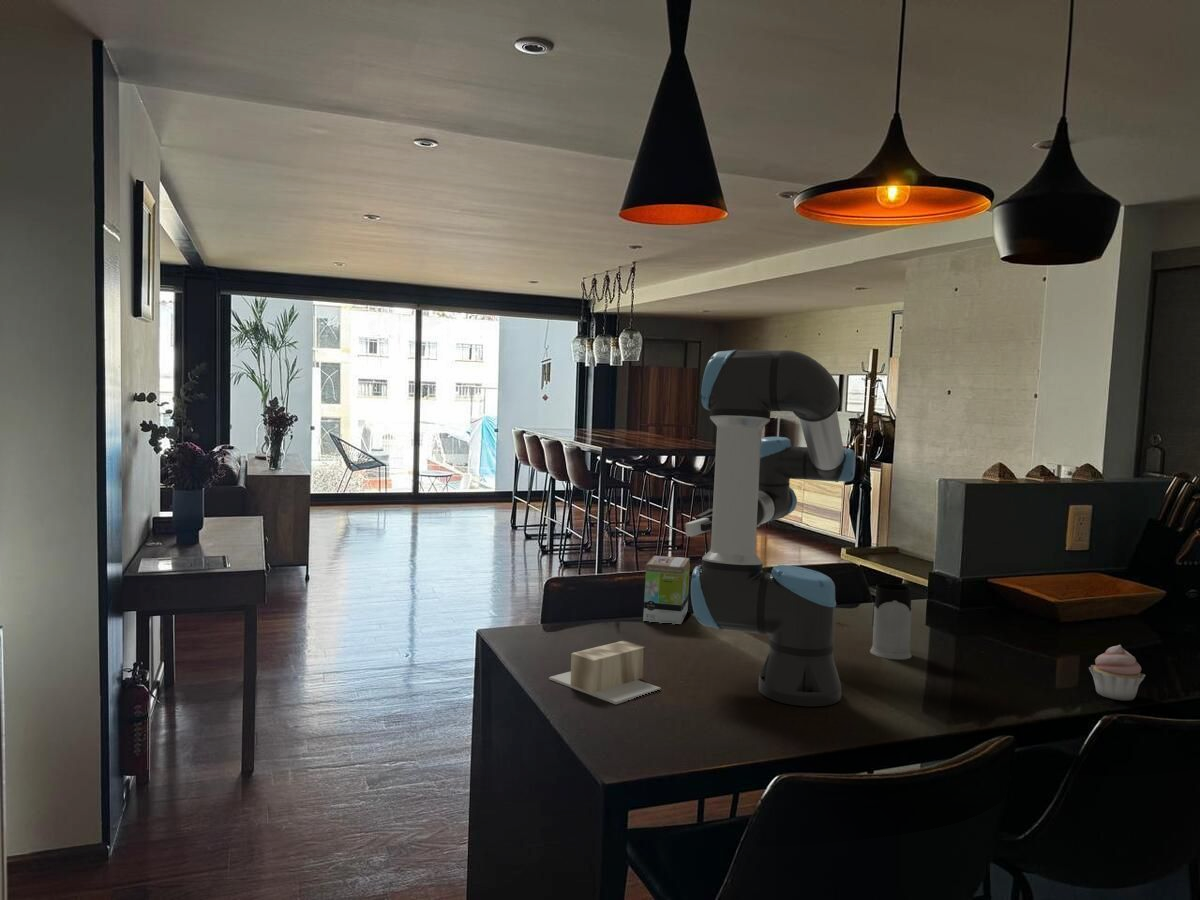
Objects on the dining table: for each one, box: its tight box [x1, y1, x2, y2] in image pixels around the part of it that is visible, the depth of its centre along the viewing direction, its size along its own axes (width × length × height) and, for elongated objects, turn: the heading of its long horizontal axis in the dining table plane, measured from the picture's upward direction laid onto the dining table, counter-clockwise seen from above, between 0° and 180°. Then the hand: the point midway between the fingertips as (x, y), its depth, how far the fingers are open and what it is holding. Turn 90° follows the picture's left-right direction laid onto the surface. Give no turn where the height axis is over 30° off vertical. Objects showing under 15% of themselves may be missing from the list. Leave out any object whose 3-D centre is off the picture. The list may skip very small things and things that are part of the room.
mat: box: [548, 670, 661, 705], centre depth 159 cm, size 18×12×1 cm, turn 44°
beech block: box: [570, 640, 646, 693], centre depth 160 cm, size 6×6×14 cm
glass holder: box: [869, 583, 913, 660], centre depth 189 cm, size 9×14×15 cm, turn 166°
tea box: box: [642, 555, 691, 625], centre depth 214 cm, size 15×10×15 cm
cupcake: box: [1088, 644, 1146, 701], centre depth 161 cm, size 9×9×10 cm
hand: (688, 530), depth 173 cm, fingers closed
